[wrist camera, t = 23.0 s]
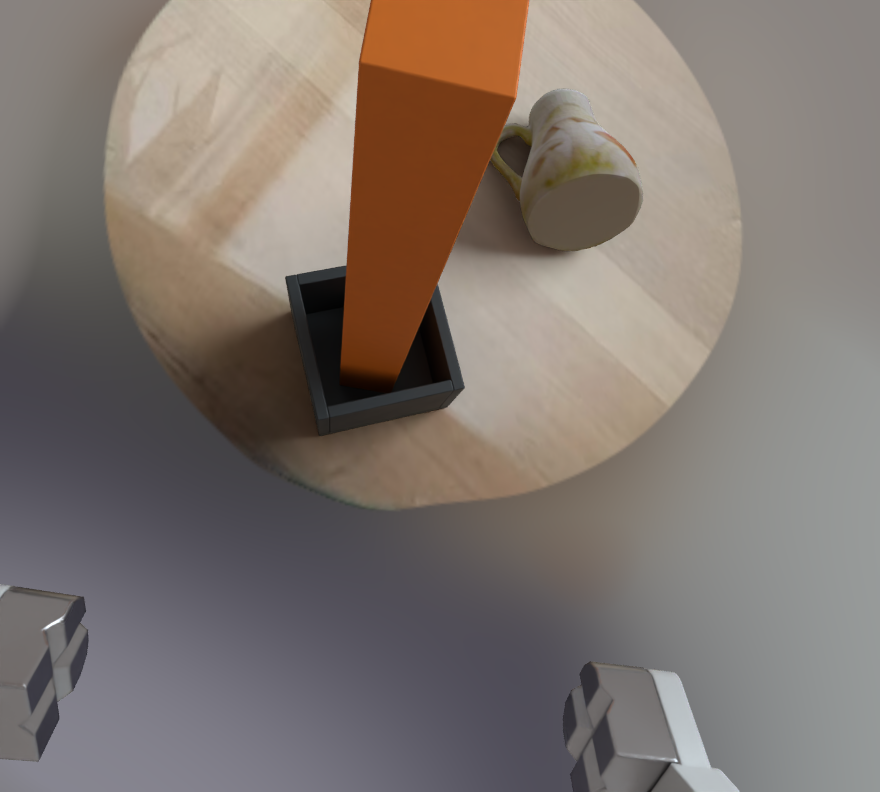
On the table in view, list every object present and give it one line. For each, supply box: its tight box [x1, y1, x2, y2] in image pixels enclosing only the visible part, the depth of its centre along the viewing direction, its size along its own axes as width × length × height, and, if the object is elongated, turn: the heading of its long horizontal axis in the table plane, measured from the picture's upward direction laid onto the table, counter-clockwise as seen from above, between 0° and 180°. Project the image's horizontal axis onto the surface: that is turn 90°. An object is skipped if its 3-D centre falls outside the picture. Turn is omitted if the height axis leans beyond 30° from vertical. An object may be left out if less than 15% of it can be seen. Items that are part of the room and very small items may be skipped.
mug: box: [490, 89, 643, 251], centre depth 42 cm, size 8×10×10 cm
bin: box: [285, 266, 465, 436], centre depth 38 cm, size 8×8×6 cm
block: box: [339, 0, 529, 393], centre depth 27 cm, size 3×4×28 cm
